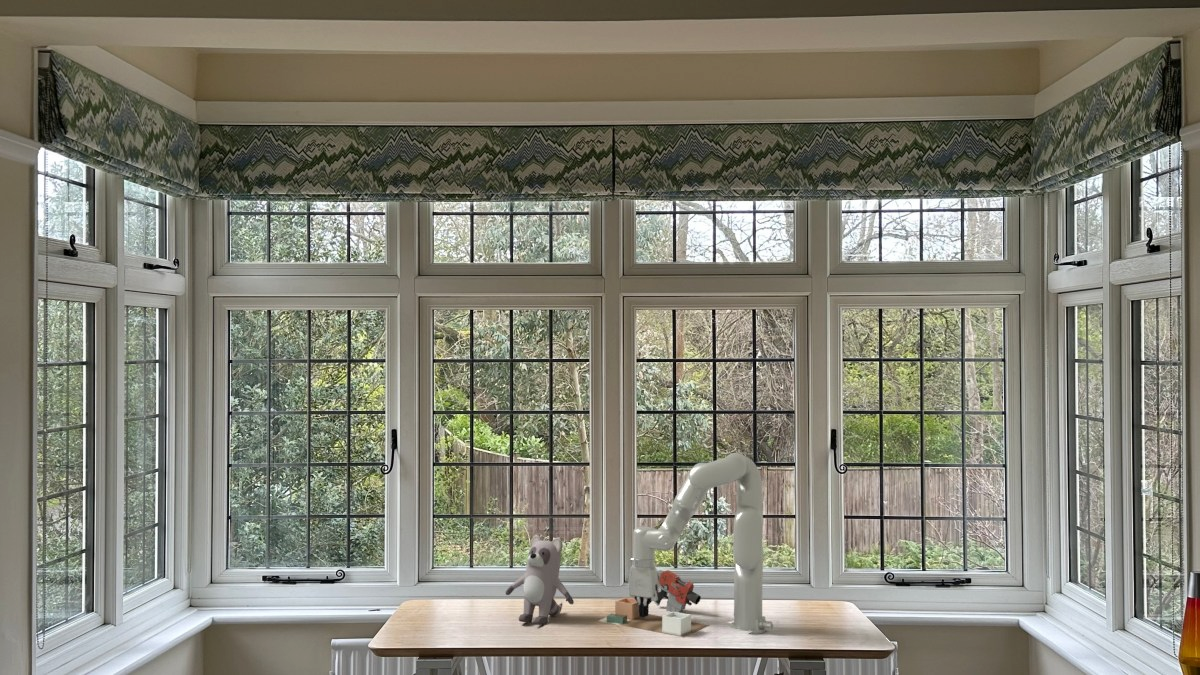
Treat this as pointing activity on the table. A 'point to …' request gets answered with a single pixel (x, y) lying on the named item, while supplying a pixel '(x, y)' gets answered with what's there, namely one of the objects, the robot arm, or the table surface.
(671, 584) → the toy gun
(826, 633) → the table surface
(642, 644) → the table surface
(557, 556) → the toy
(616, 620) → the tin
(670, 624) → the white open cubby box
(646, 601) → the robot arm
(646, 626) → the board
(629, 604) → the peach open cubby box
